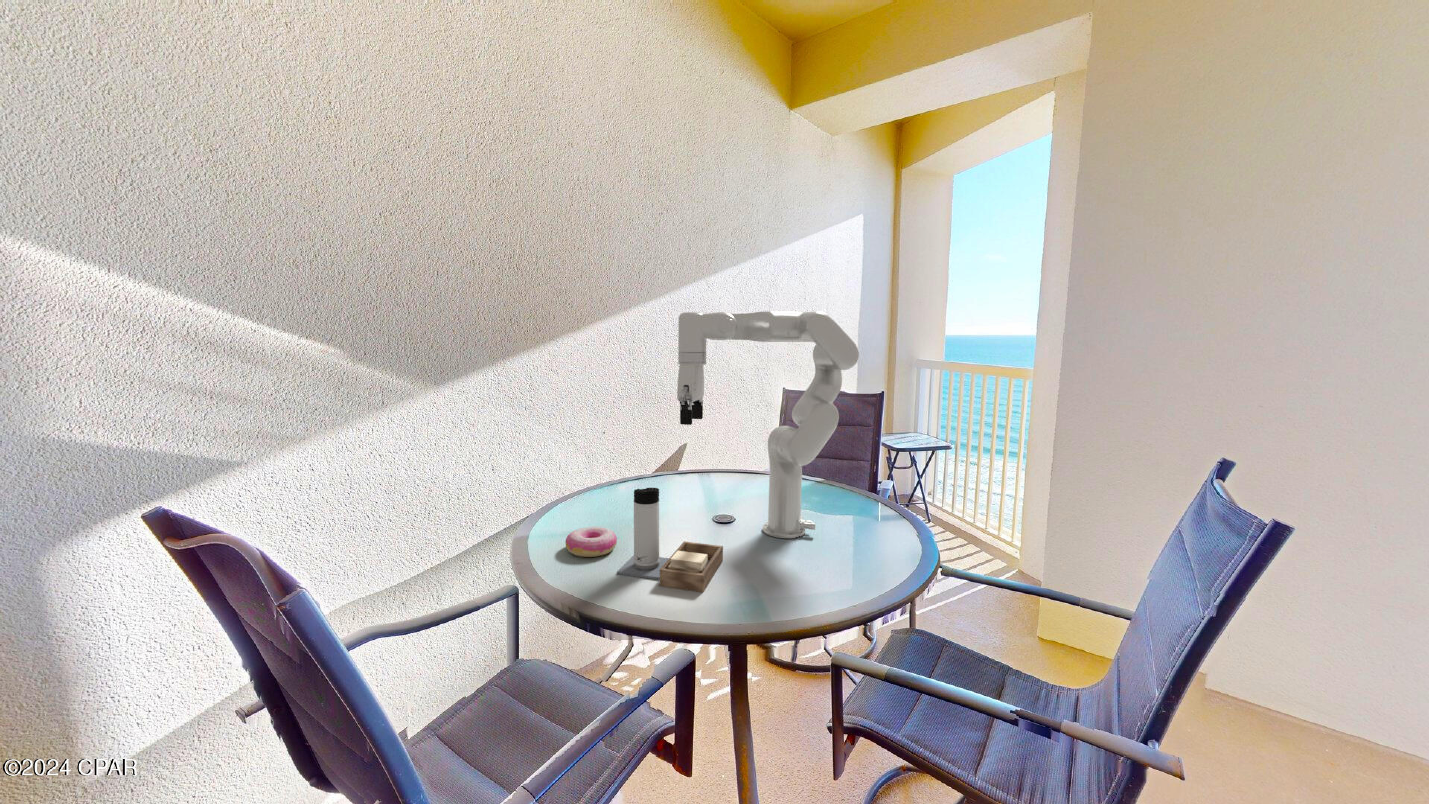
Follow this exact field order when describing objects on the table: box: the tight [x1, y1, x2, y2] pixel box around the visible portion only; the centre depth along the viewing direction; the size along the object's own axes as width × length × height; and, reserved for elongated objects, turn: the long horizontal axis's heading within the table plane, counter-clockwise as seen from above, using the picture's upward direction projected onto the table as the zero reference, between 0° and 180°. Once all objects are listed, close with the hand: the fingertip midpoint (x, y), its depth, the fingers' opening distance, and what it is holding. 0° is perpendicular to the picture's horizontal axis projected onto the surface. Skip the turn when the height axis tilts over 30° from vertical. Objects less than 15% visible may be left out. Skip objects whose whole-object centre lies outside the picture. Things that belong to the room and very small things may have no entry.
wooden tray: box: [659, 541, 724, 593], centre depth 131 cm, size 11×18×4 cm, turn 165°
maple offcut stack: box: [668, 551, 709, 573], centre depth 127 cm, size 8×5×6 cm, turn 75°
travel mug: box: [633, 487, 660, 570], centre depth 133 cm, size 6×7×20 cm
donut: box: [565, 526, 618, 558], centre depth 144 cm, size 14×13×5 cm
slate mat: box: [616, 554, 670, 581], centre depth 134 cm, size 11×11×1 cm
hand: (691, 421), depth 146 cm, fingers open, 9 cm apart
